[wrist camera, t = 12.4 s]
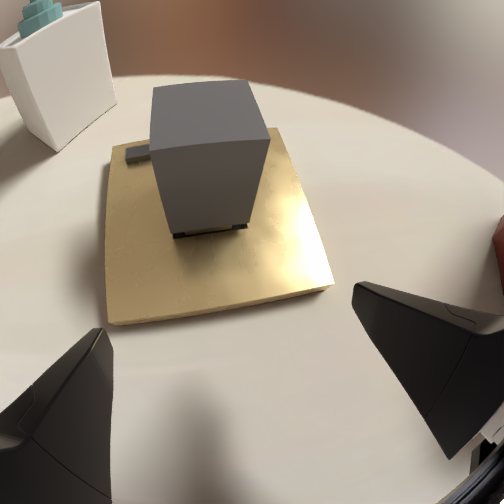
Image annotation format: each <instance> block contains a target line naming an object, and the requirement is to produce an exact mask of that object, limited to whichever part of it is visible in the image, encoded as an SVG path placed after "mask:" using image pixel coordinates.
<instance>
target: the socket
mask: <svg viewBox="0 0 504 504" xmlns="http://www.w3.org/2000/svg"><path fill="white" fill-rule="evenodd" d="M267 130H268V133H269V135H270V138H271V141H270V144H269V148H268V152H267V156H266V160H265V164H264V167H263V171H262V175H261V179H260V183H259V187H258V191H257V195H256V199H255V202H254V206H253V210H252V214H251V218H250V222H249V223H245V224H237V225H232V229H225V230H217V231H210V232H203V233H196V234H189V235H185V232H179V233H172V234H171V233H170V230H169V227H168V223H167V220H166V216H165V212H164V209H163V205H162V201H161V198H160V194H159V190H158V186H157V182H156V178H155V174H154V170H153V166H152V161H151V157H150V153H149V142H150V139H149V140H143V141H137V142H132V143H127V144H122V145H118V146H113V148H112V155H111V163H110V171H109V180H108V191H107V203H106V221H105V284H106V301H107V314H108V323H111V324H113V325H115V326H122V325H130V324H138V323H146V322H153V321H161V320H168V319H175V318H181V317H188V316H194V315H200V314H206V313H212V312H218V311H224V310H229V309H235V308H240V307H246V306H251V305H256V304H261V303H266V302H271V301H276V300H281V299H286V298H291V297H295V296H300V295H304V294H309V293H313V292H318V291H322V290H326V289H327V288H329V287H330V286H331V285H333V284H334V281H333V277H332V274H331V271H330V268H329V265H328V262H327V258H326V255H325V252H324V249H323V246H322V243H321V240H320V237H319V234H318V232H317V229H316V226H315V223H314V220H313V217H312V215H311V212H310V209H309V206H308V204H307V201H306V198H305V195H304V193H303V190H302V188H301V185H300V182H299V180H298V177H297V175H296V172H295V170H294V167H293V165H292V162H291V160H290V157H289V155H288V152H287V150H286V147H285V145H284V143H283V140H282V138H281V136H280V133H279V131H278V129H277V128H267Z"/></svg>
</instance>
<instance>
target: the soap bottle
mask: <svg viewBox="0 0 504 504" xmlns="http://www.w3.org/2000/svg"><path fill="white" fill-rule="evenodd" d="M22 13H23V17H24V20H22V21H21V22H20V23H19V24H18V30H19V32H17V33H16V34H14V35H12V36H11V37H10V38H8V39H7V40H5V41H4V42H2V43H1V44H0V69H1V72H2V74H3V77H4V79H5V82H6V84H7V86H8V88H9V91H10V93H11V96H12V98H13V100H14V102H15V104H16V106H17V108H18V110H19V113H20V115H21V117H22V119H23V120H24V122H25V124H26V126H27V128H28V130H29V131H30V132H31V133H32V134H33V135H35V136H36V137H37V138H39V139H40V140H41V141H43V142H44V143H45V144H47V145H48V146H49V147H51V148H52V149H54V150H55V151H56V152H59V151H60V150H61V149H62V148H63V147H65V146H66V145H67V144H68V143H69V142H70V141H71V140H72V139H73V138H74V137H76V136H77V135H78V134H79V133H80V132H81V131H83V130H84V129H85V128H86V127H87V126H89V125H90V124H91V123H92V122H93V121H95V120H96V119H97V118H99V117H100V116H101V115H102V114H104V113H105V112H106V111H108V110H109V109H110V108H112V107H113V106H114V105H116V104H117V102H118V101H117V97H116V93H115V88H114V84H113V79H112V75H111V70H110V65H109V60H108V54H107V48H106V42H105V36H104V30H103V23H102V15H101V7H100V2H99V1H96V2H89V3H83V4H77V5H72V6H67V7H61V3H60V2H59V3H55V4H53V1H52V0H30V4H28V5H27V6H25V7H24V8H23V10H22Z"/></svg>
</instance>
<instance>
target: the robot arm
mask: <svg viewBox="0 0 504 504" xmlns="http://www.w3.org/2000/svg"><path fill="white" fill-rule="evenodd" d="M352 307H353V309H354V311H355V313H356V315H357V316H358V318H359V320H360V322H361V323H362V325H363V327H364V329H365V331H366V332H367V334H368V336H369V338H370V339H371V341H372V342H373V343H374V345H375V346H376V348H377V349H378V351H379V352H380V354H381V355H382V356H383V358H384V359H385V361H386V362H387V364H388V365H389V367H390V368H391V370H392V371H393V373H394V374H395V375H396V377H397V378H398V380H399V381H400V383H401V384H402V386H403V387H404V389H405V391H406V392H407V394H408V395H409V397H410V398H411V400H412V401H413V403H414V404H415V406H416V408H417V409H418V411H419V412H420V414H421V415H422V417H423V419H424V420H425V422H426V424H427V425H428V427H429V428H430V430H431V432H432V433H433V435H434V437H435V438H436V440H437V442H438V443H439V445H440V447H441V448H442V450H443V452H444V454H445V455H446V457H447V458H448V459H449V460H450V459H451V458H453V457H454V456H455V455H456V454H457V453H458V452H460V451H461V450H462V449H463V448H464V447H465V446H466V445H467V444H468V443H469V442H470V441H471V440H473V439H474V438H475V437H476V436H477V435H478V434H479V433H480V432H481V434H482V435H483V436H484V437H485V439H484V440H483V441H482V442H481V443H480V444H479V445H478V446H477V447H476V448H475V449H474V450H473V451H472V457H471V465H470V473H469V476H468V477H467V478H466V479H465V480H464V481H463V482H462V483H460V484H459V485H458V486H457V487H456V488H455V489H454V490H452V491H451V492H450V493H449V494H448V495H446V496H445V497H444V498H443V499H442V500H440V501H439V502H438V503H436V504H504V315H494V314H490V313H485V312H480V311H475V310H470V309H466V308H462V307H458V306H454V305H450V304H446V303H442V302H439V301H435V300H432V299H428V298H424V297H421V296H417V295H413V294H410V293H406V292H403V291H399V290H395V289H392V288H388V287H384V286H381V285H377V284H373V283H370V282H366V281H363V282H359V283H356V284H355V285H354V289H353V296H352ZM112 401H113V347H112V345H111V342H110V340H109V338H108V335H107V333H106V331H105V329H104V328H93V329H92V330H90V331H89V332H88V333H87V334H86V335H85V336H84V337H83V338H81V339H80V340H79V341H78V342H77V343H76V344H75V345H74V346H72V347H71V348H70V349H69V350H68V351H67V352H66V353H65V354H64V355H63V356H61V357H60V358H59V359H58V360H57V361H56V362H55V363H54V364H53V365H52V366H51V367H50V368H49V369H47V370H46V371H45V372H44V373H43V374H42V375H41V376H40V377H39V378H38V379H37V380H36V381H35V382H34V383H33V385H31V386H30V387H29V388H28V389H27V390H26V391H25V392H23V393H22V394H21V395H20V396H19V397H18V398H17V399H16V400H15V401H14V402H13V403H11V404H10V405H9V406H8V407H7V408H6V409H5V410H3V411H2V412H1V413H0V504H112V500H111V479H110V434H111V414H112Z"/></svg>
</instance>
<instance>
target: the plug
mask: <svg viewBox="0 0 504 504" xmlns="http://www.w3.org/2000/svg"><path fill="white" fill-rule="evenodd" d="M270 141H271V138H270V135H269V133H268V130H267V128H266V125H265V123H264V120H263V118H262V115H261V113H260V110H259V108H258V105H257V103H256V100H255V98H254V95H253V93H252V91H251V88H250V86H249V83H248V81H247V80H227V81H208V82H195V83H185V84H176V85H168V86H161V87H154V88H153V98H152V109H151V123H150V142H149V153H150V157H151V161H152V166H153V170H154V174H155V178H156V182H157V186H158V190H159V194H160V198H161V201H162V205H163V209H164V212H165V216H166V220H167V223H168V227H169V230H170V233H171V234H172V233H179V232H185V235H189V234H196V233H203V232H210V231H217V230H225V229H232V225H237V224H245V223H249V222H250V218H251V214H252V210H253V206H254V202H255V199H256V195H257V191H258V187H259V183H260V179H261V175H262V171H263V167H264V164H265V160H266V156H267V152H268V148H269V144H270Z"/></svg>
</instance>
